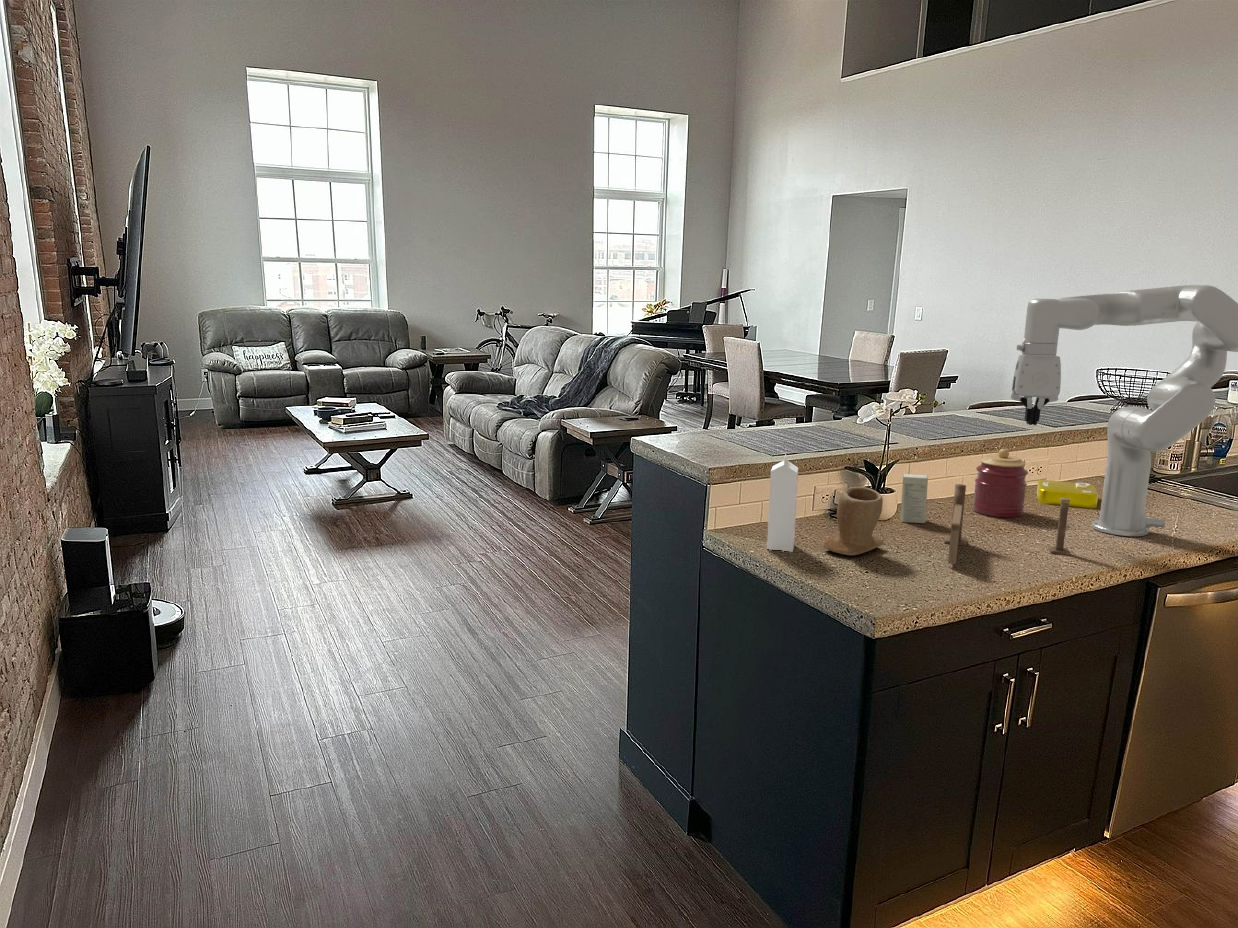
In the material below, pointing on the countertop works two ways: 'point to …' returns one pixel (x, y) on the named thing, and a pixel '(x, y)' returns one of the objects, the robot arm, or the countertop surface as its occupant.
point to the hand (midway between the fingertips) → (1031, 424)
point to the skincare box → (914, 498)
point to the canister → (1000, 485)
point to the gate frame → (960, 499)
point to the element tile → (1067, 493)
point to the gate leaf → (955, 533)
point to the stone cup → (856, 522)
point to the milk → (782, 506)
